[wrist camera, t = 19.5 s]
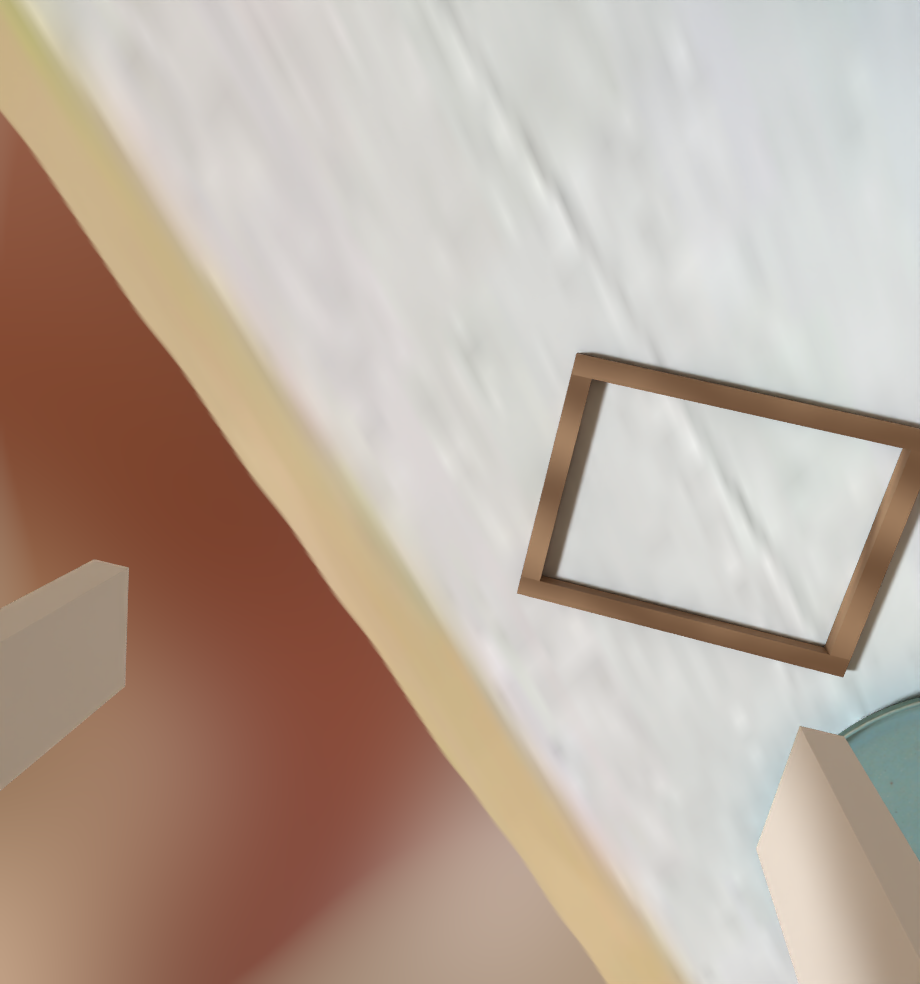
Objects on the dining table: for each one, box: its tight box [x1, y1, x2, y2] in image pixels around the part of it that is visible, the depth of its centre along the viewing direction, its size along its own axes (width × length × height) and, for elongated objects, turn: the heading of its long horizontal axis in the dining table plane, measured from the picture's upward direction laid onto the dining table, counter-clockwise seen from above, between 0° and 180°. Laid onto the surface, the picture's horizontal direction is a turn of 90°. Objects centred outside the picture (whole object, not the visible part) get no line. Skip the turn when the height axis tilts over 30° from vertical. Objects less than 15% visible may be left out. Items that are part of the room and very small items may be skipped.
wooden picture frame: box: [517, 353, 920, 677], centre depth 42 cm, size 15×20×1 cm
